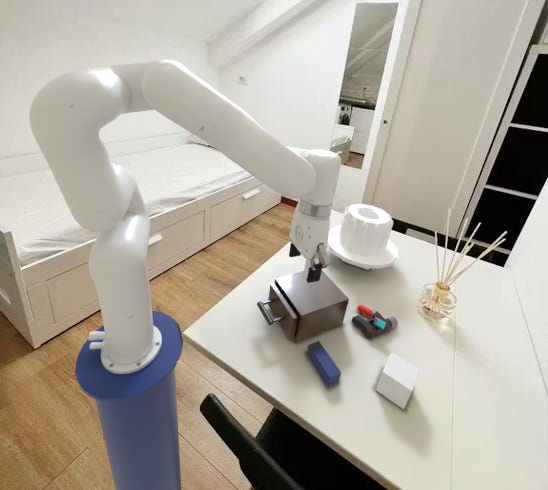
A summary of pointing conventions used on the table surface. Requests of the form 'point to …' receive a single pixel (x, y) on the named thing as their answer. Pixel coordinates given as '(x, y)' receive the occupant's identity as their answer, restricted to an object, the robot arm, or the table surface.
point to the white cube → (397, 380)
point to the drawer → (280, 311)
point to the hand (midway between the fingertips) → (303, 267)
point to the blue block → (323, 363)
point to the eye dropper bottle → (307, 264)
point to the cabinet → (314, 303)
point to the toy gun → (373, 322)
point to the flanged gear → (364, 237)
